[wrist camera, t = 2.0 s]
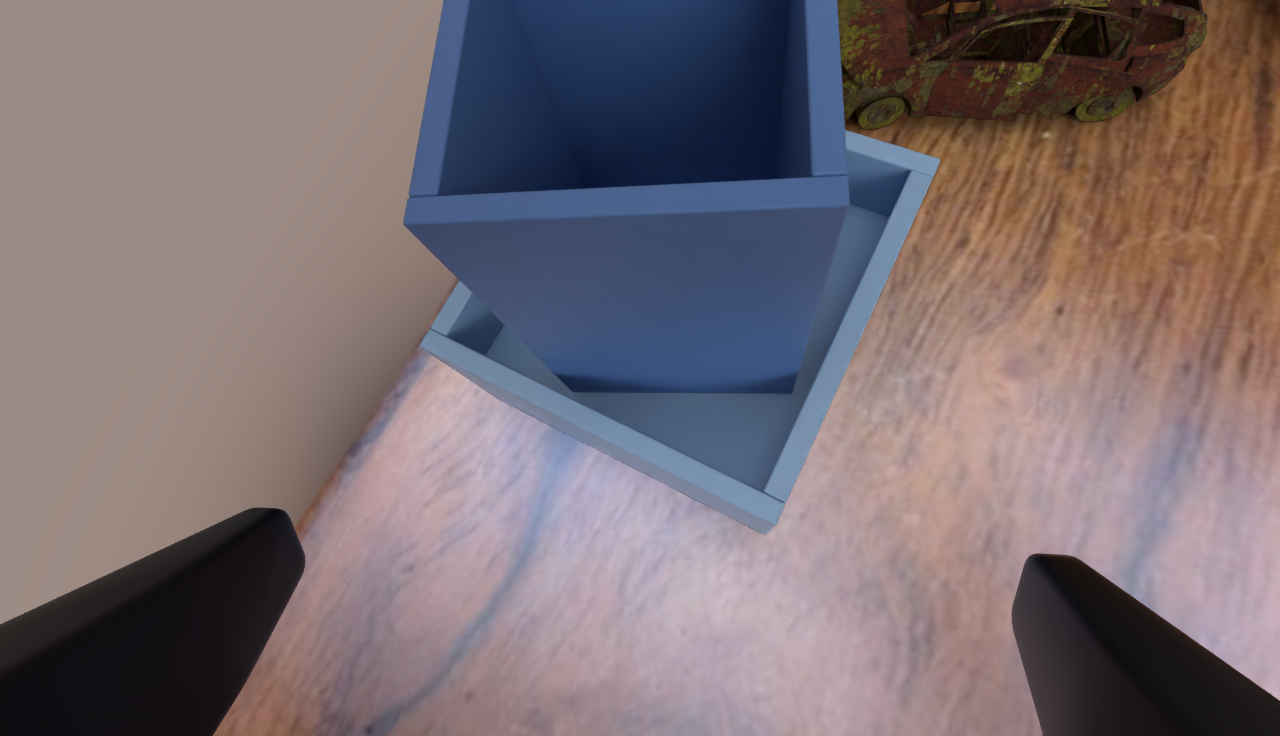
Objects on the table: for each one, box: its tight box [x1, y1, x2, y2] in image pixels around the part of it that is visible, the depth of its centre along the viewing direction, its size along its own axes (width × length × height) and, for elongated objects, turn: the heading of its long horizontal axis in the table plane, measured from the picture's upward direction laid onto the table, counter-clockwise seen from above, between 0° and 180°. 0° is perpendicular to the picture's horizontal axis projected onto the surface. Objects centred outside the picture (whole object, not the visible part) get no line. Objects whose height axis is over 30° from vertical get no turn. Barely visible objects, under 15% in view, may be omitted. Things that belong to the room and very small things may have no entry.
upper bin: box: [404, 0, 850, 394], centre depth 15 cm, size 7×7×10 cm
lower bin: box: [420, 130, 940, 535], centre depth 20 cm, size 11×11×6 cm
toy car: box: [837, 0, 1207, 129], centre depth 22 cm, size 12×7×5 cm, turn 85°
